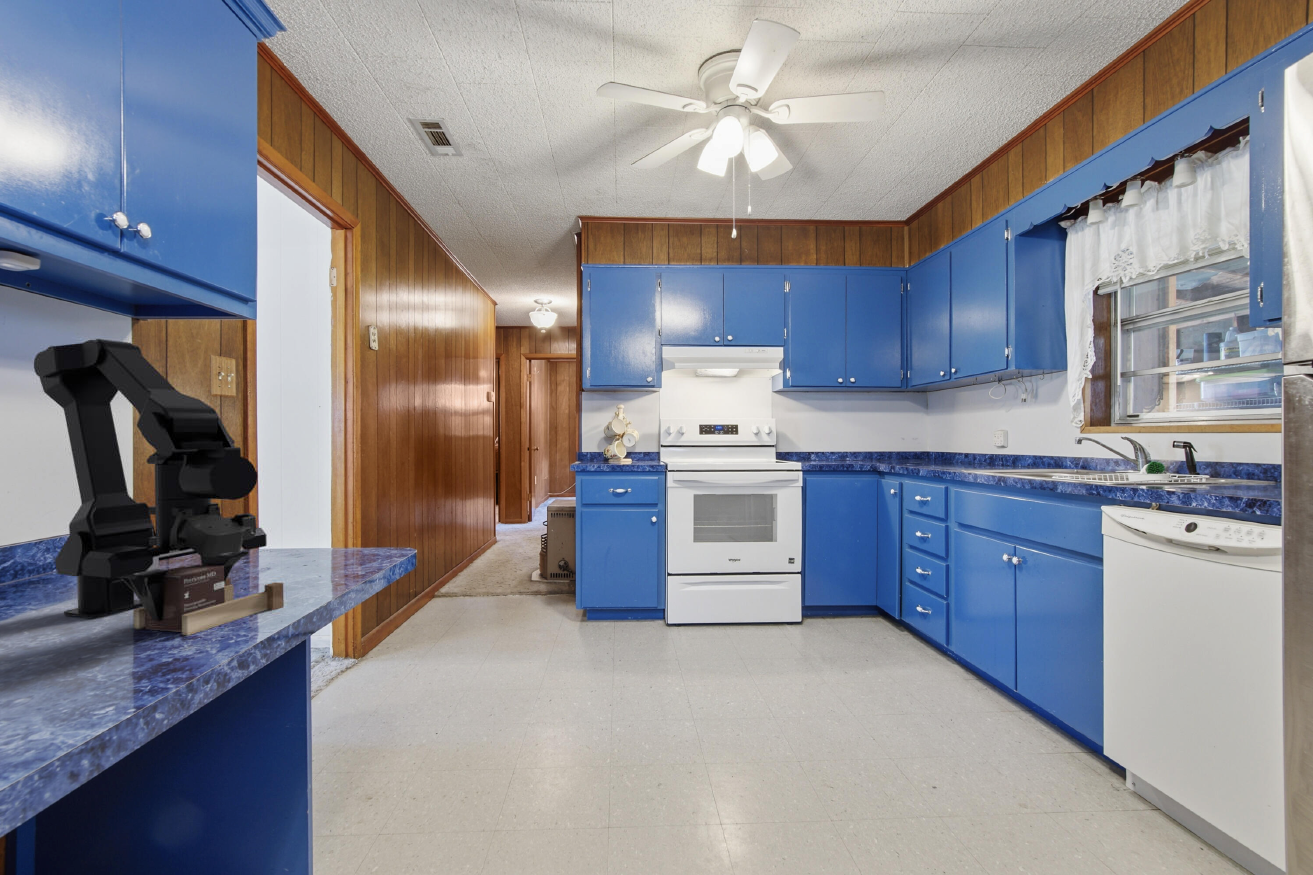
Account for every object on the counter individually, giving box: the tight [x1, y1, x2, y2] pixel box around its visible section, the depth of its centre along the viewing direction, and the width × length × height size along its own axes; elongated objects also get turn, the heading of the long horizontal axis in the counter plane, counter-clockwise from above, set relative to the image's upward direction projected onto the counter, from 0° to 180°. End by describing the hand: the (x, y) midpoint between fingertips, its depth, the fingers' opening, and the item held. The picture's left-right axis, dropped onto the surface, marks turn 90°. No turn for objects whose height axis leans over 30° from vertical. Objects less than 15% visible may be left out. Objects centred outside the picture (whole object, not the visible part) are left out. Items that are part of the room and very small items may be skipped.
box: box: [144, 564, 225, 633], centre depth 72 cm, size 6×6×7 cm
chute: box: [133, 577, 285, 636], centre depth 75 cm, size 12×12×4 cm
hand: (186, 612), depth 72 cm, fingers closed on box, 6 cm apart
